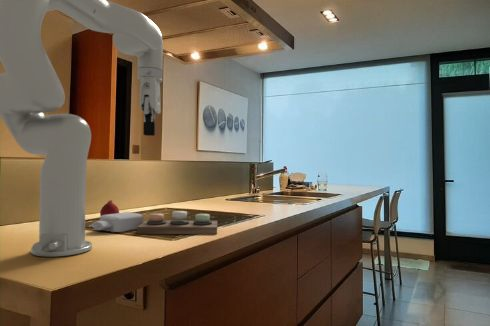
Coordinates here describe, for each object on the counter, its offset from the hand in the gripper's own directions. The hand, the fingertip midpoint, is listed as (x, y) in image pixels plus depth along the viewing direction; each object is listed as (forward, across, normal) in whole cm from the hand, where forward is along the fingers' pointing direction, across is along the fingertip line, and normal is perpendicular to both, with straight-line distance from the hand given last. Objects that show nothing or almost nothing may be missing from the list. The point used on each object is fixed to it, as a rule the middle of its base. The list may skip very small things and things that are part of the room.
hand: (149, 135), depth 114 cm
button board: (+29, -2, -10) cm, 31 cm away
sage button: (+26, -2, -17) cm, 31 cm away
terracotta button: (+26, -2, -3) cm, 26 cm away
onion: (+29, +8, +14) cm, 33 cm away
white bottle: (+30, -3, +10) cm, 31 cm away
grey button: (+25, -2, -10) cm, 27 cm away
